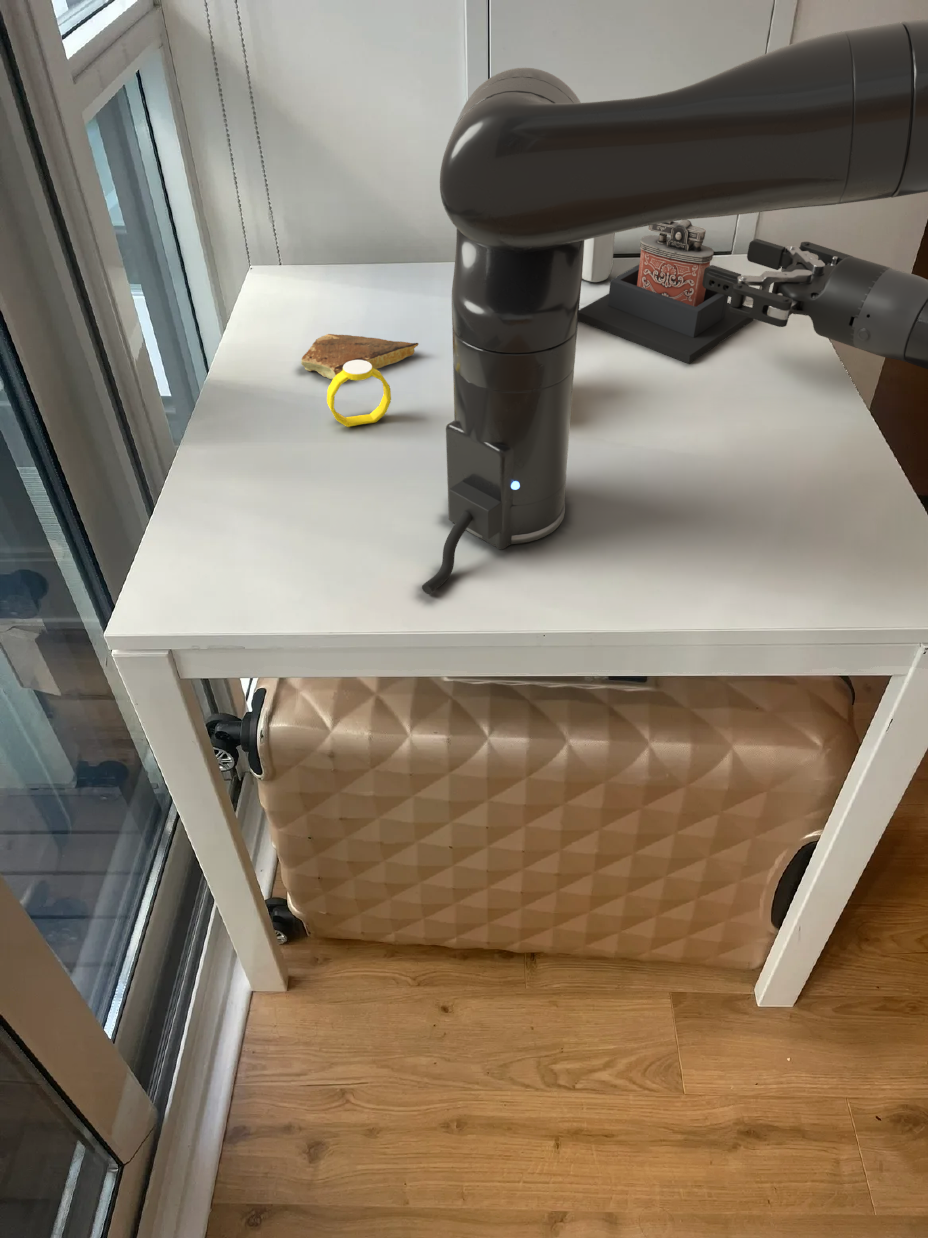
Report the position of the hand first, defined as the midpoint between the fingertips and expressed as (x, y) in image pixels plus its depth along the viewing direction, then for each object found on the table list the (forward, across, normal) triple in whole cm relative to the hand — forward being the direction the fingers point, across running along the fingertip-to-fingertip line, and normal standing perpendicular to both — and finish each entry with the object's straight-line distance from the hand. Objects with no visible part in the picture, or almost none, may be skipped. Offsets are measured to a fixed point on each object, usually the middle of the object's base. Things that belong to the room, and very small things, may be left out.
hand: (727, 261), depth 97 cm
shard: (+26, +29, +9) cm, 40 cm away
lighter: (+6, 0, +8) cm, 10 cm away
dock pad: (+6, 0, +8) cm, 11 cm away
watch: (+16, +37, +9) cm, 41 cm away
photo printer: (+22, -4, +9) cm, 24 cm away
